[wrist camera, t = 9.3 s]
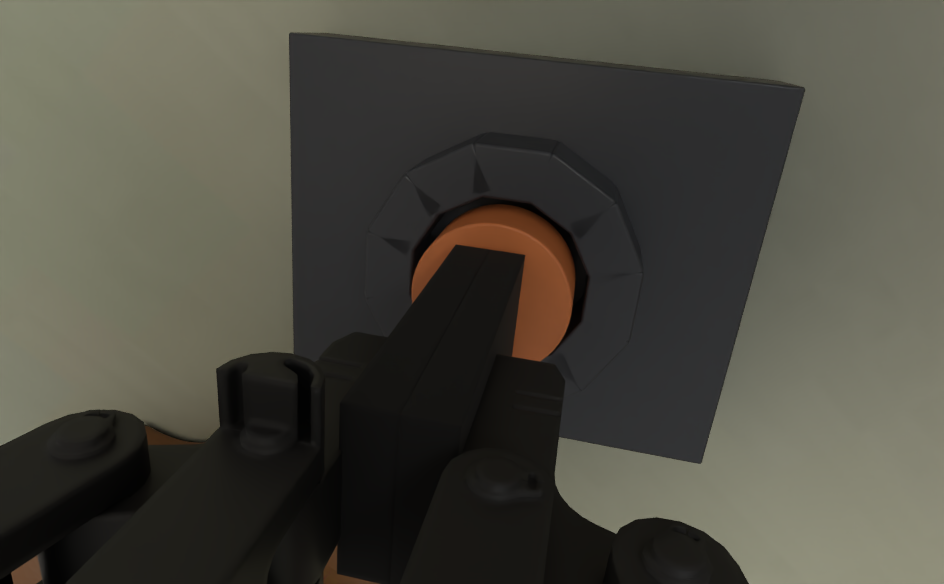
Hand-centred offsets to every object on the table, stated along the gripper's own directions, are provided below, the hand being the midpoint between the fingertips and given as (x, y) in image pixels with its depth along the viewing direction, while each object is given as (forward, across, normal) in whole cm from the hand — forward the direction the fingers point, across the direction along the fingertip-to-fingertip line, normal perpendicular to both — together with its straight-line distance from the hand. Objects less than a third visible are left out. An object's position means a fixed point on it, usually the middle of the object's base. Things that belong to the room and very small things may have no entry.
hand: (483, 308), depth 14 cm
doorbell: (+5, 0, 0) cm, 5 cm away
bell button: (+2, 0, 0) cm, 2 cm away
